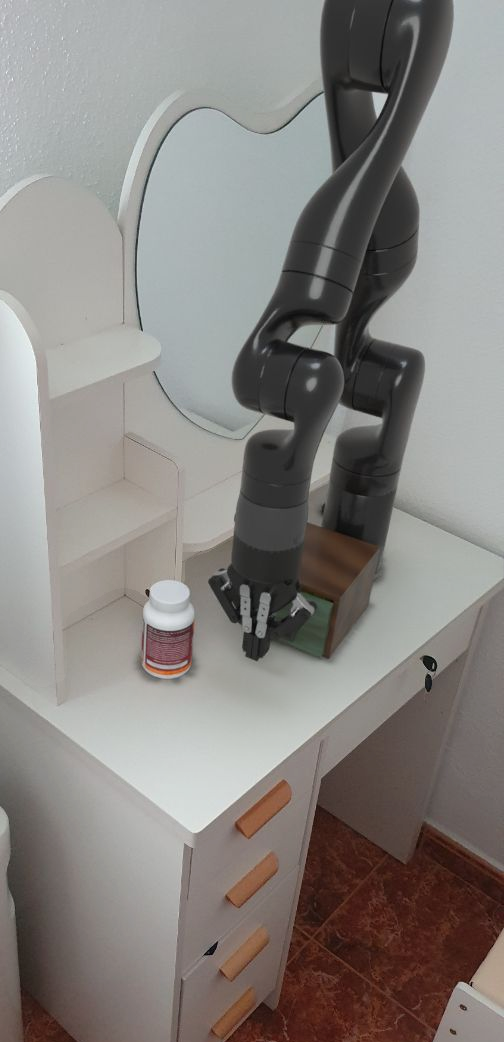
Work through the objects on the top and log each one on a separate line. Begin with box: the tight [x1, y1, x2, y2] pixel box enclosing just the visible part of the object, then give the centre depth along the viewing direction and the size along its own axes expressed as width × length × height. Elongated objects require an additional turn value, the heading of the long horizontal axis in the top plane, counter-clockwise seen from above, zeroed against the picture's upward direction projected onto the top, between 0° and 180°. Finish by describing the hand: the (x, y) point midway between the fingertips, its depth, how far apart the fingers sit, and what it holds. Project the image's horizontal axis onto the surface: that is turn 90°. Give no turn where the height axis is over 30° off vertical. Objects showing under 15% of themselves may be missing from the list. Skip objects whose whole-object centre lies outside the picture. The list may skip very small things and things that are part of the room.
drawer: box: [271, 591, 334, 659], centre depth 120 cm, size 17×10×8 cm, turn 151°
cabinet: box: [299, 521, 380, 660], centre depth 124 cm, size 14×11×10 cm
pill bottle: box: [140, 579, 196, 680], centre depth 113 cm, size 6×6×11 cm
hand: (254, 655), depth 110 cm, fingers closed
